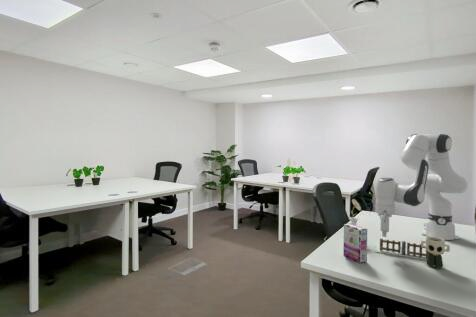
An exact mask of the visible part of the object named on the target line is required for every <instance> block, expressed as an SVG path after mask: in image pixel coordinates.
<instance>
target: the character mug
mask: <svg viewBox="0 0 476 317" xmlns="http://www.w3.org/2000/svg"><path fill="white" fill-rule="evenodd" d="M420 244H421V247H422V249H425V250H426V251H427V252H429V253H428V256H427V260H426V263H425V264H426V265H427V266H429V267H432V268H436V269H442V268H443V267H444V265H443V264H444V262H443V257H442V255H444V254H445V252H450V251H451V249H450V248H451V246H450V244H446V240H443V239H441V238H437V237H429V236H426V238H425V240H421V241H420ZM424 244H425V245H424ZM445 247H446V248H445Z"/></svg>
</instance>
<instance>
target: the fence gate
mask: <svg viewBox="0 0 476 317" xmlns="http://www.w3.org/2000/svg"><path fill="white" fill-rule="evenodd" d="M379 243H380V250H381V251H383V250H386V251H388V252H389V251H392V252H394V251H395V252H398V253H400V247H402V241H401V240H399V241H395V240H390V239H383V238H379ZM385 243H386V244H387V248H384V247H383V244H385ZM389 245H392V249H391V248H389ZM396 245H397V246H398V249H395V246H396Z"/></svg>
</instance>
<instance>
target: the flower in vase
mask: <svg viewBox="0 0 476 317" xmlns="http://www.w3.org/2000/svg"><path fill="white" fill-rule="evenodd" d="M351 202H352V205H353V207H352V210H351V212H350V213H351V215H352V217H349V219H350V222H351V223H350V224H354V225H357V222H358V221H359V218H358V217H354V216H356V215H357V213H355V214H354V209H355V208H356V209H357V210H358V211H362V207H361V205H360V203H359V202H358V201H357V200H356V199H354V198H353V199H352V200H351ZM342 237H343V239H344V236H342Z"/></svg>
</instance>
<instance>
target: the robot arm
mask: <svg viewBox="0 0 476 317" xmlns="http://www.w3.org/2000/svg"><path fill="white" fill-rule="evenodd" d="M405 144H406V145H405V146H404V148H403V149H402V152H401V154H400V155H401V156H400V159H401V162H402V164H403V165H405V166H406V167H407V168H409V169H410V170H413V171H415V175H414V180H413V182H412V184H409V185H407V184H401V183H397V182H396V181H395V179H394V178H392V177H382V178H381V177H380V178H379V179H377V182H376V186H375V198H376V200H375V203H374V204H375V206H374V207H375V209H374V210H375V211H374V212H375V213H377V216H379V219H380V232H381V233H382V234H381V235H382V237H384V238H385V237H386V238H387V233H388V232H390V218H392V216H393V215H395V214H396V211H395V210H396V203H399V204H404V205H408V206H411V207H417V206H419V205H420V204H422V203H423V202H424V200H425V196H426V197H427V199H428V206H429V210H428V214H427V218H428V219H427V221H426V222H423V229H422V231H421V235H422V236H426V237H437V238H441V239H443V240H445V241H453V240H459V236H457V235H456V225H455V224H454V223H453V216H452V207H453V206H452V203H451V201H450V200H449V199H447V198H445V197H443V196H442V195H441V193H442V194H443V193H444V194H463V193H466V191H467V190H468V187H469V183H468V180H467V179H466V178H465V177H463V176H461V175H459V174H458V173H457V172H456V171H455V170H454V169H453V168H452V165H451V161H450V160H451V159H450V154H449V151H450V150H451V148H452V145H453V141H452V138H451V137H450V136H449V134H444V133H440V134H439V133H415V134H411V135H409V136H408V137H407V139H406V141H405ZM429 171H430V172H433V174H431V173H429Z"/></svg>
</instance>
